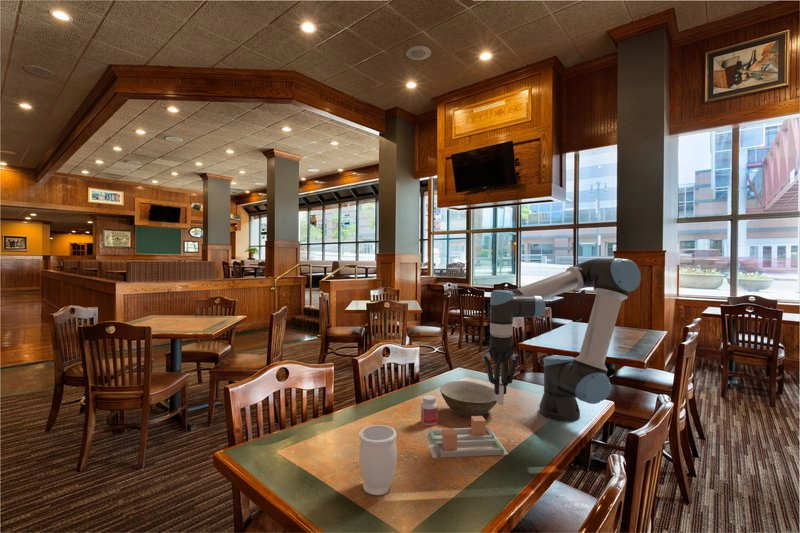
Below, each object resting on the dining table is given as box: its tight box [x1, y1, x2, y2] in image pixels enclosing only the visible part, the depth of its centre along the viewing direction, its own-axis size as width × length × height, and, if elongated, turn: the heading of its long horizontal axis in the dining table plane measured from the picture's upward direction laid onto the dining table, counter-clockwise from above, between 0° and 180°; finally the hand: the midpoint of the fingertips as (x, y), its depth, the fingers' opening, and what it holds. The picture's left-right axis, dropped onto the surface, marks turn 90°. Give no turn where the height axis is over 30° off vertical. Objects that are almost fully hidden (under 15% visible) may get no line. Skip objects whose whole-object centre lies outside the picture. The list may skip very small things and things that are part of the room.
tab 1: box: [441, 428, 457, 451], centre depth 122 cm, size 4×4×6 cm
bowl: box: [439, 380, 498, 418], centre depth 154 cm, size 24×24×10 cm
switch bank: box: [424, 426, 509, 459], centre depth 127 cm, size 24×16×3 cm, turn 95°
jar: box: [358, 424, 398, 496], centre depth 105 cm, size 11×10×15 cm
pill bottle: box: [420, 394, 439, 427], centre depth 143 cm, size 6×6×11 cm
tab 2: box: [470, 415, 487, 436], centre depth 131 cm, size 4×4×6 cm
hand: (500, 403), depth 132 cm, fingers closed
